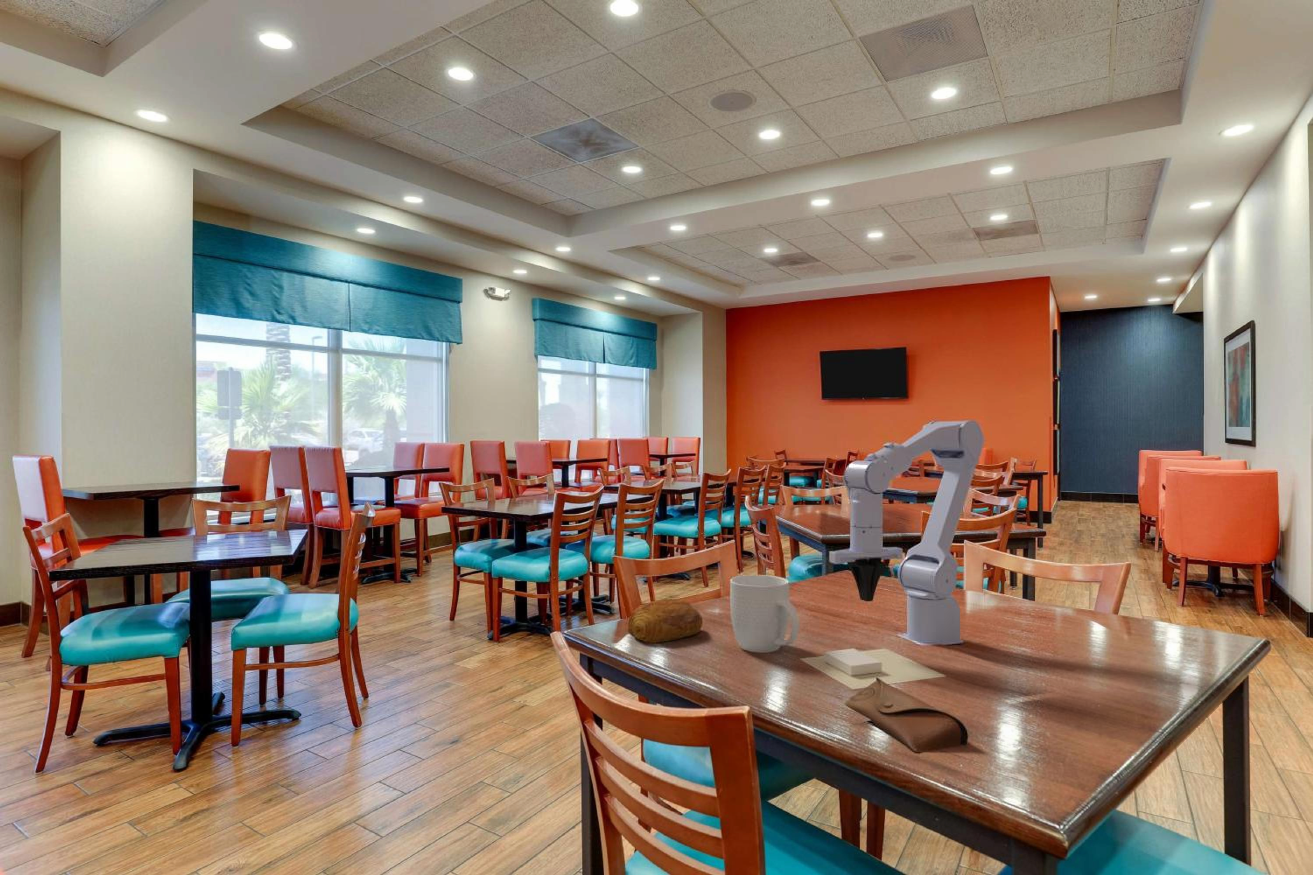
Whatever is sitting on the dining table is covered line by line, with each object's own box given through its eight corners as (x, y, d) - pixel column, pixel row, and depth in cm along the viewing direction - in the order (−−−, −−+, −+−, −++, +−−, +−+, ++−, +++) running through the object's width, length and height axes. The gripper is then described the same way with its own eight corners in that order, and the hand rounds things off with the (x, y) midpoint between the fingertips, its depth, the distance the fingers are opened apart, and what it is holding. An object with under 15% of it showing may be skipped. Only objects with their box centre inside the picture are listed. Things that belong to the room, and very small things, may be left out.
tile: (853, 648, 126) (824, 651, 124) (881, 661, 118) (851, 665, 116) (853, 658, 126) (824, 661, 124) (881, 672, 118) (851, 676, 116)
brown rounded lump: (713, 646, 143) (718, 606, 143) (649, 648, 134) (654, 606, 135) (672, 628, 155) (677, 591, 155) (611, 629, 146) (616, 590, 147)
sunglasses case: (832, 704, 106) (851, 663, 107) (866, 722, 108) (884, 681, 109) (918, 754, 89) (939, 705, 90) (955, 775, 91) (975, 726, 93)
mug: (818, 656, 129) (817, 584, 129) (775, 668, 122) (774, 592, 122) (759, 637, 141) (759, 572, 141) (718, 647, 134) (717, 578, 134)
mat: (884, 651, 132) (884, 648, 132) (946, 679, 117) (946, 675, 117) (799, 662, 126) (799, 658, 126) (852, 692, 111) (852, 689, 111)
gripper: (885, 521, 136) (885, 592, 136) (820, 525, 132) (820, 598, 132) (910, 526, 130) (910, 600, 130) (841, 529, 125) (842, 606, 125)
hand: (866, 600), depth 130 cm, fingers closed
